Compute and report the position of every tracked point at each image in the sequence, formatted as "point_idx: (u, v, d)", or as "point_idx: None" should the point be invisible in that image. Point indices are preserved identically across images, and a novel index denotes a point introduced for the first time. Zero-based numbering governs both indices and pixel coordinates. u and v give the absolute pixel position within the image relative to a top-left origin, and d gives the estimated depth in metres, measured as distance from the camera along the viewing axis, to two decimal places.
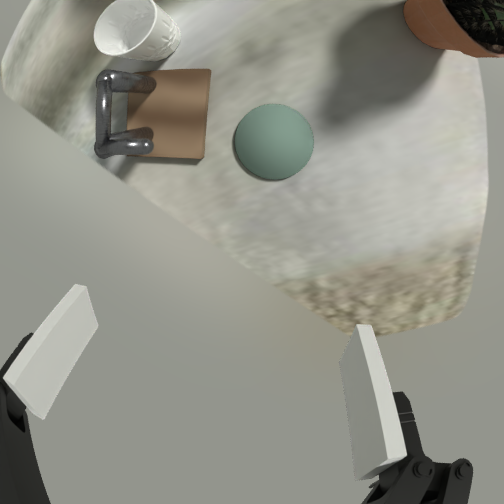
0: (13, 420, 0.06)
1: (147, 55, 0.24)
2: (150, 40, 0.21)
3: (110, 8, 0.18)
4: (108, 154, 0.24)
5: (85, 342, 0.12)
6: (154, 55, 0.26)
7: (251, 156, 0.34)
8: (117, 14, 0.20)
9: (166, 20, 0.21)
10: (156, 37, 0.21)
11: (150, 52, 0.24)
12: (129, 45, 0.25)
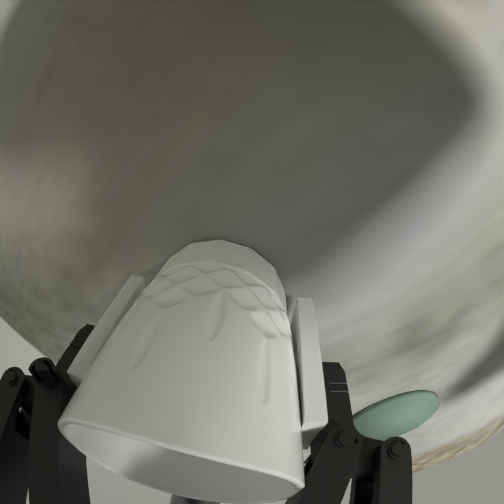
0: None
1: None
2: None
3: None
4: None
5: None
6: None
7: None
8: None
9: (299, 408, 0.08)
10: None
11: None
12: None
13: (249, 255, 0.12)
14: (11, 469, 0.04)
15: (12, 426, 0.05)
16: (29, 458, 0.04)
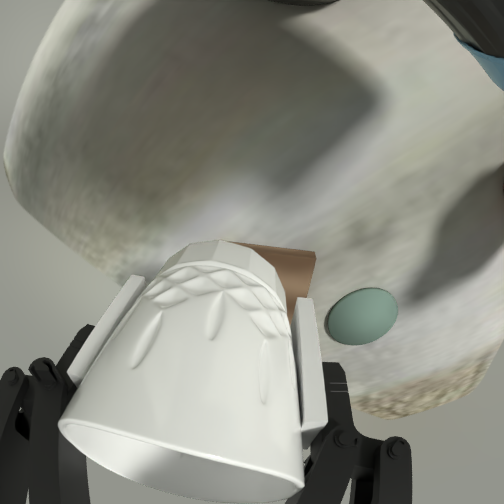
0: None
1: None
2: None
3: None
4: None
5: None
6: None
7: (341, 331, 0.36)
8: None
9: None
10: None
11: None
12: None
13: (249, 255, 0.12)
14: (11, 469, 0.04)
15: (12, 425, 0.05)
16: (29, 458, 0.04)
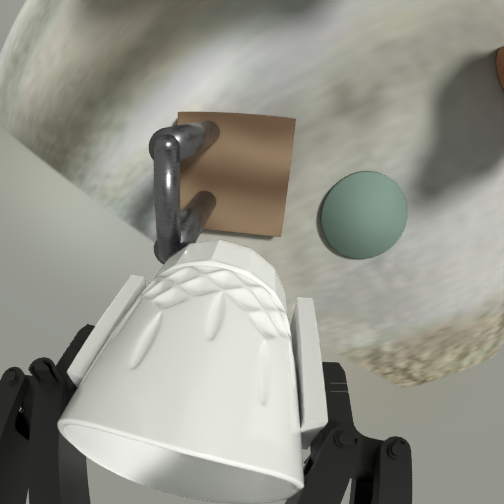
0: None
1: None
2: None
3: None
4: None
5: None
6: None
7: (339, 234, 0.29)
8: None
9: None
10: None
11: None
12: None
13: (249, 255, 0.12)
14: (11, 469, 0.04)
15: (12, 426, 0.05)
16: (29, 458, 0.04)
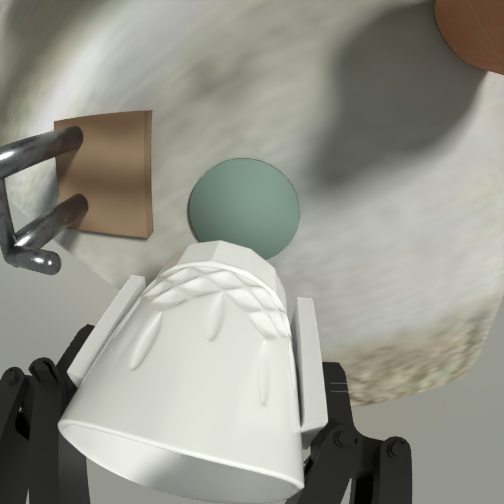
0: None
1: None
2: None
3: None
4: None
5: None
6: None
7: (213, 234, 0.26)
8: None
9: None
10: None
11: None
12: None
13: (249, 256, 0.12)
14: (11, 469, 0.04)
15: (12, 426, 0.05)
16: (29, 458, 0.04)
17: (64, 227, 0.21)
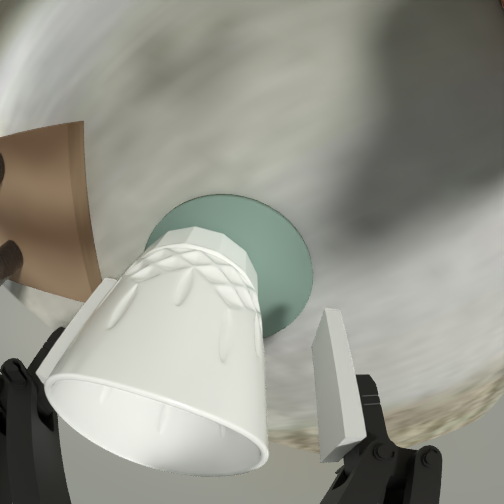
0: (41, 417, 0.07)
1: None
2: None
3: None
4: None
5: None
6: None
7: None
8: None
9: (265, 377, 0.10)
10: None
11: None
12: None
13: (221, 239, 0.13)
14: None
15: None
16: (8, 457, 0.04)
17: None
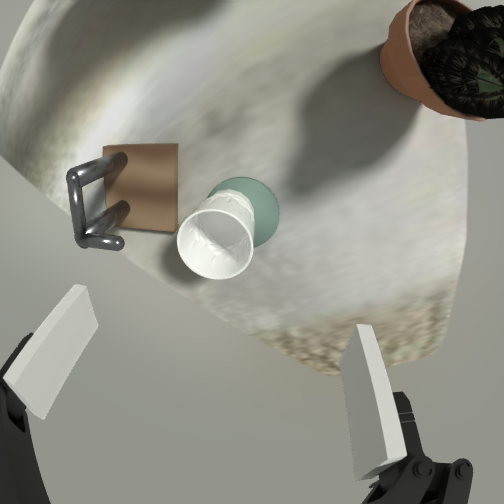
0: (13, 420, 0.06)
1: None
2: None
3: (191, 217, 0.27)
4: (87, 246, 0.27)
5: (85, 342, 0.12)
6: None
7: None
8: None
9: (253, 231, 0.30)
10: None
11: None
12: (202, 226, 0.35)
13: (239, 193, 0.34)
14: None
15: None
16: None
17: (115, 223, 0.33)
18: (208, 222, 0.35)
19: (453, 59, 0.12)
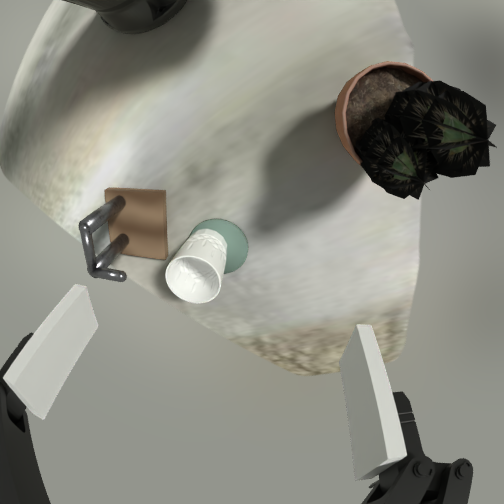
0: (13, 420, 0.06)
1: None
2: None
3: (175, 260, 0.36)
4: None
5: (85, 342, 0.12)
6: None
7: None
8: None
9: (223, 268, 0.40)
10: None
11: None
12: (186, 258, 0.44)
13: (215, 232, 0.44)
14: None
15: None
16: None
17: (118, 254, 0.42)
18: None
19: (375, 147, 0.21)
